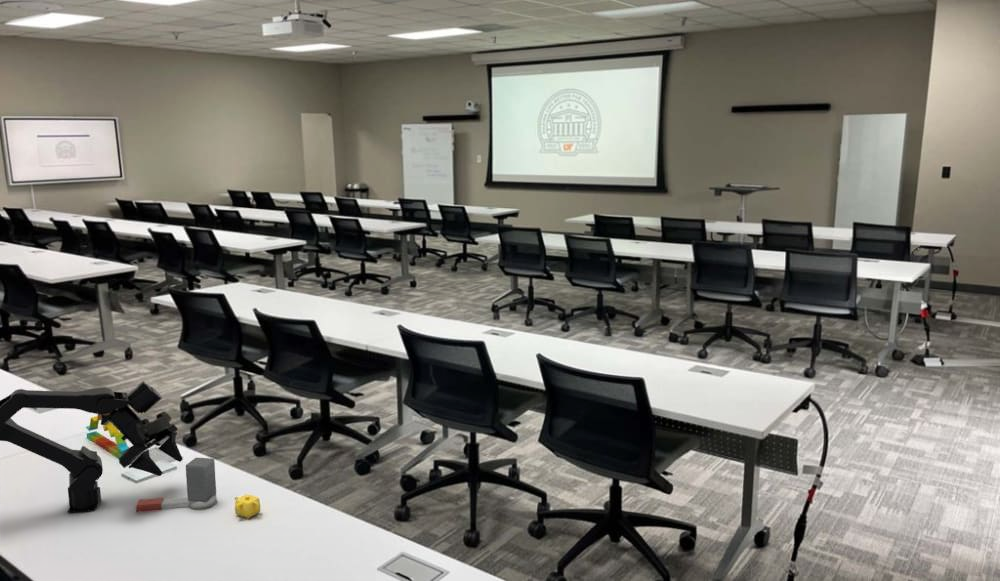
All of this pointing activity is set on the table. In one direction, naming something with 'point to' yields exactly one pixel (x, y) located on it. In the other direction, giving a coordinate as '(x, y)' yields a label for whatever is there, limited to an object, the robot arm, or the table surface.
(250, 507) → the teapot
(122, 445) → the chart
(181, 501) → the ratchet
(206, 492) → the brushed steel square block
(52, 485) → the table surface
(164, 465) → the hard drive
